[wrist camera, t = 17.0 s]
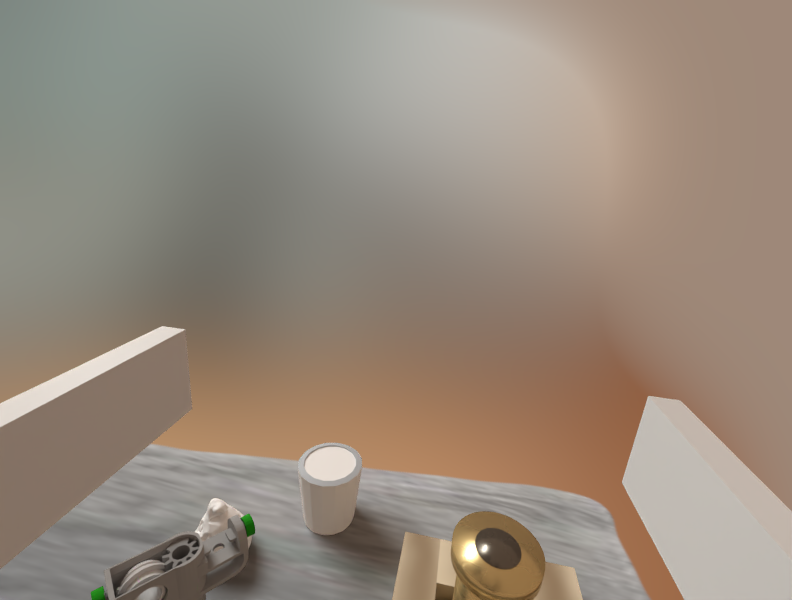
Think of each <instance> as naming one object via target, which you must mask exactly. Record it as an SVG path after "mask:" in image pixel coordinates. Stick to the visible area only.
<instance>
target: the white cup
mask: <svg viewBox="0 0 792 600" xmlns="http://www.w3.org/2000/svg"><path fill="white" fill-rule="evenodd" d="M361 470H362V458H361V457H360V455H359V454H358V452H357V451H356V450H355V449H353V448H351V447H350V446H348V445H344V444H340V443H324V444H321V445H317V446H314V447H312V448H311V449H309V450H307V451H306V452H305V453H304V454H303V455H302V456H301V458H300V459H299V463H298V475H299V484H300V492H301V501H302V509H303V518H304V521H305V524H306V526H307V527H308V528H309V529H310V530H311V531H312V532H314V533H317V534H320V535H334V534H336V533H339V532H342V531H343V530H345V529H346V528H347V527H348V526H349V525H350V524H351V522H352V520H353V518H354V513H355V507H356V500H357V494H358V488H359V482H360V476H361Z"/></svg>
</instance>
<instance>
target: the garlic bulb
mask: <svg viewBox="0 0 792 600" xmlns="http://www.w3.org/2000/svg"><path fill="white" fill-rule="evenodd" d="M235 515H238V516H239V517H240V518H241V517H243V515H242V514H241V513H240V512H239V511H238V510H236V509H235V508H234V507H232V506H230V505H228V504H226V503H225V502H224V501H223V500H221V499H217V498H214V499H212V500H211V501H210V503H209V505H208V509H207V512H206V514H205V515H204V517H203V518H202V520H201V521H200V524H199V527H198V528H197V530H196V531H195V532H196V533H198V534H199V535H200V537H201V540H202V542H203V541H205V540H207V539H209V538H211V537H213V536H214V535H216V534H218V533H220V532H222V531H224V530H226V529H228V523H227V522H228V519H229V518H231V517H233V516H235ZM247 539H248V549H249V547H250V544H251V539H252V535H251V536H249V537H247ZM222 548H224V547H223V546H219V547H217V548H215V549H214V551H213V552H217V551H218V550H220V549H222Z"/></svg>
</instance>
